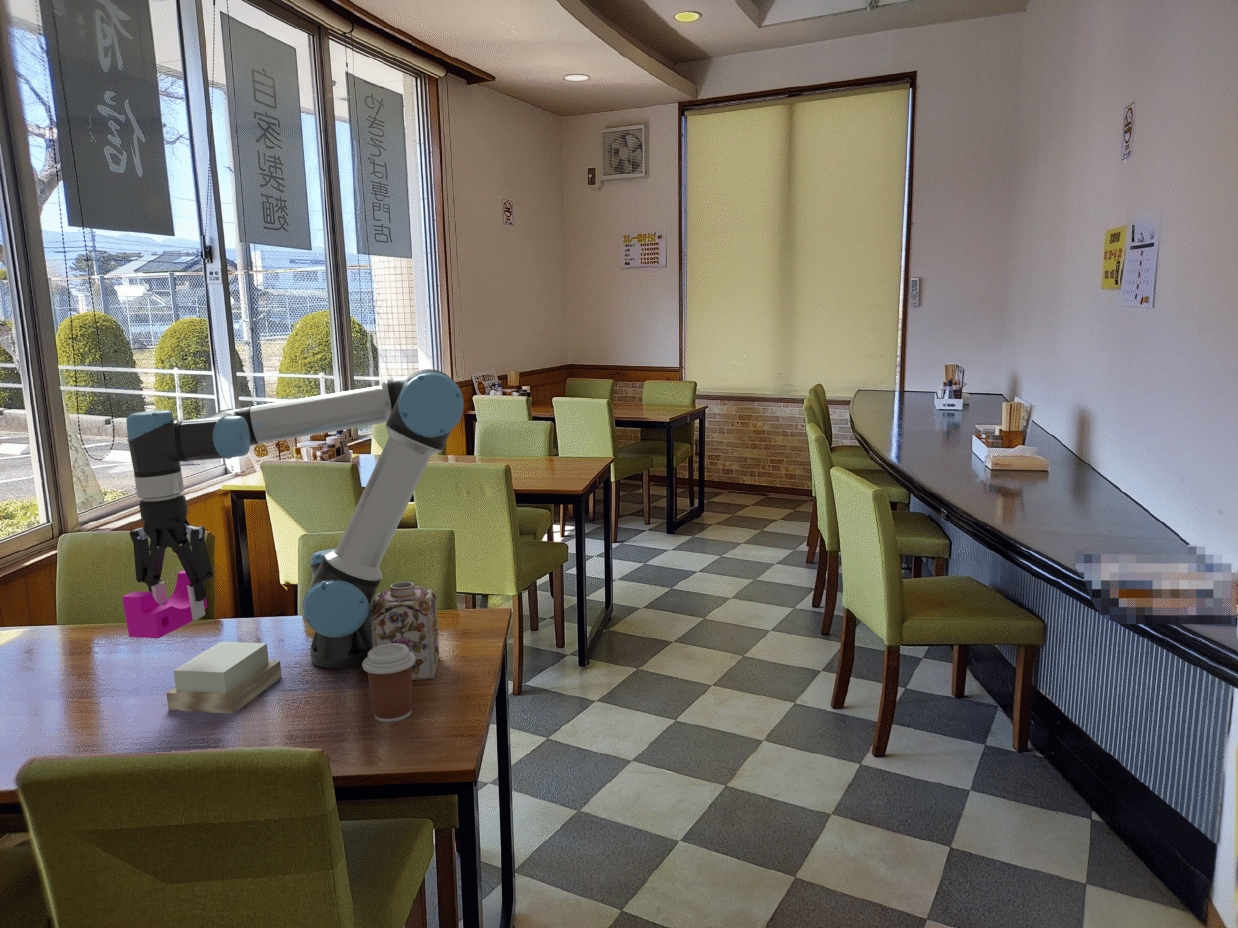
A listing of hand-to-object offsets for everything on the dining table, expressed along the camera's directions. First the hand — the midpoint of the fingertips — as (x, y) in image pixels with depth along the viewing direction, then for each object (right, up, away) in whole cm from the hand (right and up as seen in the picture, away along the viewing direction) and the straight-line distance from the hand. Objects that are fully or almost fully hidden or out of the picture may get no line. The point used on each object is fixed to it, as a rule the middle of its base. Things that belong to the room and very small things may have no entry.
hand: (181, 617), depth 156 cm
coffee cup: (+41, -16, -5) cm, 44 cm away
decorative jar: (+39, -13, +14) cm, 43 cm away
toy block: (0, -1, -1) cm, 2 cm away
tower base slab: (+6, -16, +5) cm, 18 cm away
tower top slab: (+6, -12, +5) cm, 14 cm away
